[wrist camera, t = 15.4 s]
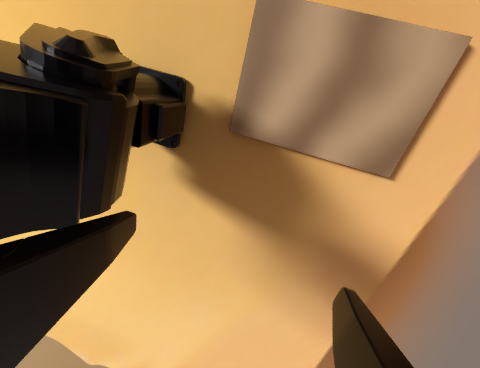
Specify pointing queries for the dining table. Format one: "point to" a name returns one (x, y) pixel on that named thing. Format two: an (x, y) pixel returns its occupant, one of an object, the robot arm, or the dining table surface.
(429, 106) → the oak pad
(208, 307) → the dining table surface
